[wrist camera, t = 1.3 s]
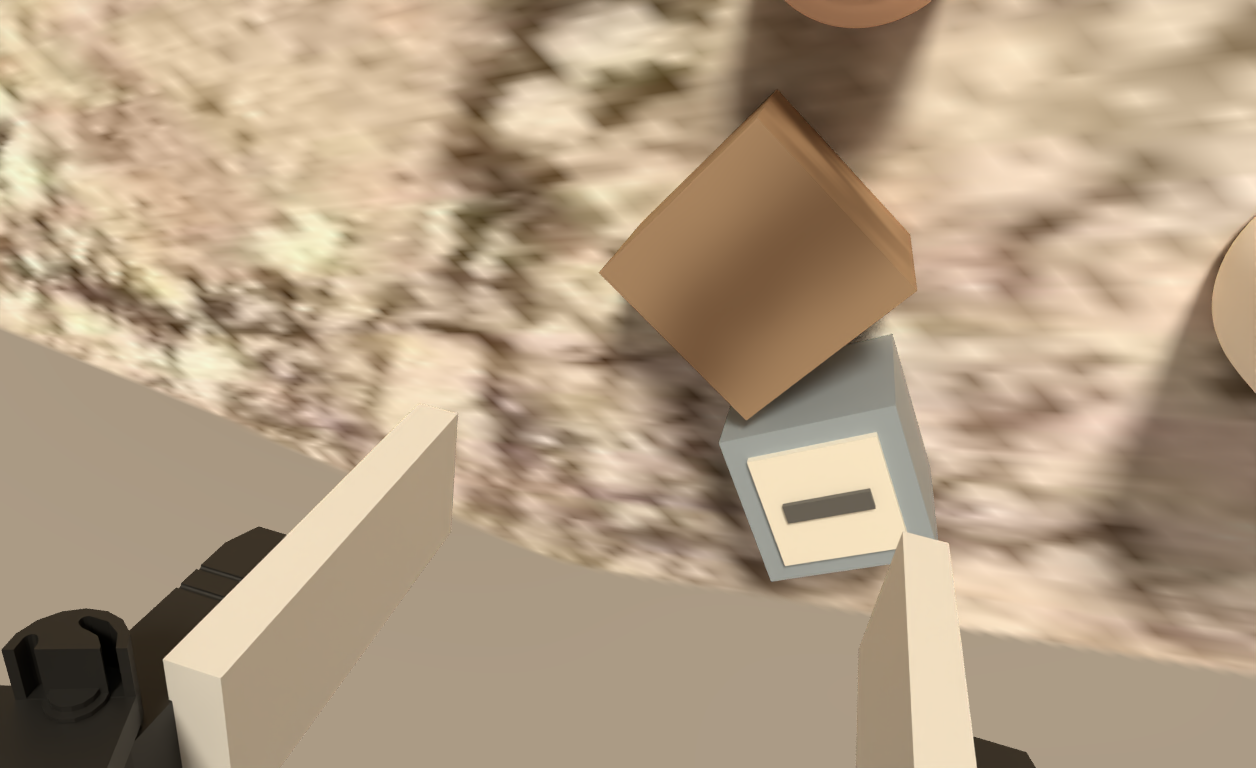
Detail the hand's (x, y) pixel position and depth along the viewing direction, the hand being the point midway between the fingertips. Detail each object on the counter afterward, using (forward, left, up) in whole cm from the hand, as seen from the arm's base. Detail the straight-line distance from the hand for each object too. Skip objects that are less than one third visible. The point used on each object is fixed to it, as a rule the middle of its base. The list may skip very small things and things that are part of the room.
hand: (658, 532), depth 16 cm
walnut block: (0, 0, -19) cm, 19 cm away
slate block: (+8, -2, -19) cm, 21 cm away
